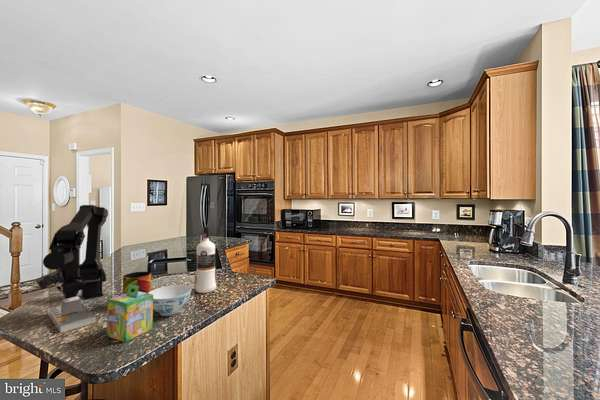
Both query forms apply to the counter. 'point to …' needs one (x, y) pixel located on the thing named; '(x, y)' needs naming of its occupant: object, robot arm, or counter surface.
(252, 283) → the counter surface
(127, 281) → the mug
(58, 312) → the console
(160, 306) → the chinaware
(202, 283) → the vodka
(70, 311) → the fader tab
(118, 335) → the chalk box
